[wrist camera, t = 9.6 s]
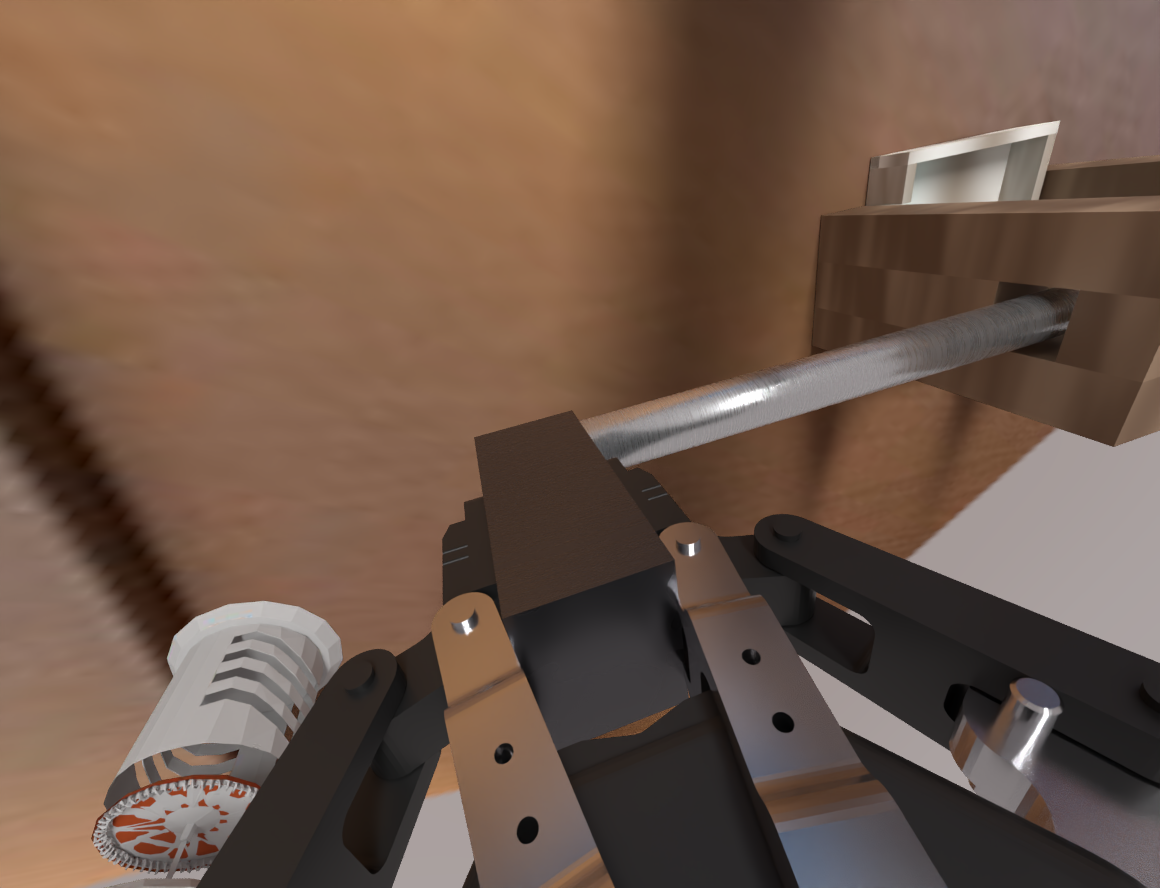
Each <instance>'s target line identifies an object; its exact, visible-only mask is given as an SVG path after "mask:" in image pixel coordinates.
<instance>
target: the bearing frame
mask: <svg viewBox="0 0 1160 888" xmlns="http://www.w3.org/2000/svg"><path fill="white" fill-rule="evenodd" d="M1059 123H1060V121H1054V122H1048V123H1042V124H1036V125H1029V126H1023V127H1017V128H1011V129H1006V130H1002V131H997V132H992V133H987V134H982V135H978V136H973V137H968V138H963V139H958V140H954V141H949V142H944V143H939V144H934V145H930V146H925V147H920V148H915V149H910V150H906V151H901V152H896V153H891V154H886V155H882V156H877V157H872V158H871V164H870V173H869V182H868V191H867V199H866V206H862V207H858V208H853V209H849V210H844V211H840V212H836V213H831V214H827V215H822V216H821V228H820V242H819V256H818V269H817V283H816V297H815V310H814V324H813V337H812V346H815V347H818V348H821V349H824V350H827V351H830V350H833V349H837V348H840V347H844V346H847V345H851V344H855V343H858V342H862V341H865V340H869V339H872V338H876V337H879V336H883V335H887V334H890V333H894V332H897V331H901V330H904V329H908V328H912V327H915V326H919V325H922V324H926V323H929V322H933V321H936V320H940V319H944V318H947V317H951V316H954V315H958V314H961V313H965V312H968V311H972V310H976V309H979V308H983V307H986V306H990V305H993V304H997V303H1000V302H1004V301H1008V300H1011V299H1015V298H1018V297H1022V296H1025V295H1029V294H1032V293H1036V292H1040V291H1043V290H1047V289H1050V288H1054V287H1056V288H1065V289H1074V290H1080V291H1079V294H1078V297H1077V300H1076V303H1075V306H1074V309H1073V312H1072V315H1071V317H1070V320H1069V323H1068V326H1067V329H1066V332H1065V335H1062V336H1058V337H1055V338H1052V339H1049V340H1045V341H1042V342H1039V343H1035V344H1032V345H1029V346H1025V347H1022V348H1019V349H1016V350H1012V351H1009V352H1006V353H1002V354H999V355H996V356H992V357H989V358H986V359H983V360H979V361H976V362H973V363H969V364H966V365H963V366H959V367H956V368H953V369H950V370H946V371H943V372H940V373H936V374H933V375H930V376H926V377H923V378H920V379H917V380H916V381H919V382H922V383H925V384H928V385H931V386H934V387H937V388H940V389H943V390H946V391H949V392H952V393H955V394H958V395H961V396H964V397H967V398H970V399H973V400H975V401H978V402H981V403H984V404H987V405H990V406H993V407H996V408H999V409H1002V410H1005V411H1008V412H1011V413H1014V414H1017V415H1020V416H1023V417H1026V418H1029V419H1032V420H1035V421H1038V422H1041V423H1044V424H1047V425H1050V426H1053V427H1056V428H1059V429H1062V430H1065V431H1068V432H1071V433H1074V434H1077V435H1080V436H1083V437H1086V438H1089V439H1092V440H1094V441H1098V442H1100V443H1104V444H1106V445H1109V446H1112V447H1115V446H1118V445H1120V444H1123V443H1126V442H1129V441H1132V440H1134V439H1137V438H1140V437H1143V436H1145V435H1148V434H1151V433H1154V432H1157V431H1159V430H1160V155H1154V156H1143V157H1132V158H1121V159H1110V160H1099V161H1088V162H1077V163H1066V164H1056V165H1048V163H1049V160H1050V156H1051V152H1052V149H1053V145H1054V142H1055V138H1056V134H1057V131H1058V127H1059Z"/></svg>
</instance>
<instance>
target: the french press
mask: <svg viewBox="0 0 1160 888" xmlns="http://www.w3.org/2000/svg"><path fill="white" fill-rule="evenodd" d="M342 659H343V656H342V648H341V641H340V638H339V636H338V635H337V634H336V633H335V632H334V630H333V629H332V628H331V627H330V625H329V624H328V623H327V622H326V621H325V620H324V619H322V618H320V617H318V616H316V615H314V614H312V613H310V612H308V611H306V610H304V609H302V608H300V607H297V606H291V605H285V604H280V603H274V602H268V601H259V602H249V603H238V604H228V605H225V606H223V607H220V608H218V609H215V610H212V611H210V612H207V613H205V614H202V615H200V616H197V617H195V618H194V619H193V620H192V621H191V622H190V623H189V624H187V625H186V626H185V627H184V628H183V629H182V630H181V631H180V632H178V633H177V634H176V635H175V636H174V639H173V642H172V645H171V648H170V651H169V654H168V657H167V660H168V663H169V666H170V669H171V671H172V674H173V679H172V680H171V682H170V684H169V686H168V687H167V689H166V691H165V692H164V694H163V696H162V697H161V699H160V701H159V703H158V704H157V706H156V708H155V709H154V711H153V713H152V715H151V716H150V718H149V720H148V721H147V723H146V725H145V726H144V728H143V730H142V732H141V733H140V735H139V737H138V738H137V740H136V742H135V744H134V745H133V747H132V749H131V751H130V752H129V754H128V756H127V758H126V759H125V761H124V763H123V765H122V766H121V768H120V770H119V772H118V773H117V775H116V777H115V779H114V780H113V782H112V784H111V786H110V787H109V790H108V792H107V795H106V798H105V801H104V805H105V807H106V809H107V811H106V812H105V813H103V814H102V815H101V816H100V817H99V818H98V819H97V821H96V824H95V828H94V831H93V834H92V838H91V839H92V841H93V843H94V846H96V848H97V849H98V851H99V853H100V854H101V856H103V858H107V859H109V860H108V862H109V861H113V864H114V865H115V864H119V865H120V866H121V867H122V866H123V867H125V870H126V869H127V868H133V871H134V870H135V869H140V872H142V871H143V870H146V871H148V873H150V872H151V871H152V872H155V875H156V874H157V873H158V872H164V873H165V872H168V871H169V872H168V875H167V877H166V879H142V880H137V881H133V882H128V883H124V884H119V885H115V886H110V887H106V888H196V887H197V885H198V884H199V882H200V881H201V880H196V879H172V877H173V874H174V873H175V872H176V871H180V872H181V873H182V872H184V871H187V872H189V873H190V872H191V871H192V870H194V869H196V871H199V870H200V868H208V867H209V866H210V865H211V863H212V862H213V860H214V859H215V857H216V856H217V854H218V853H219V851H220V849H221V848H222V846H223V845H224V843H225V842H226V840H227V839H228V837H229V835H230V834H231V832H232V831H233V829H234V828H235V826H236V825H237V823H238V822H239V820H240V818H241V817H242V815H243V814H244V812H245V811H246V809H247V808H248V806H249V804H250V803H251V801H252V800H253V798H254V797H255V795H256V794H257V792H258V790H259V789H260V787H261V786H262V784H263V783H264V781H265V780H266V778H267V776H268V775H269V773H270V772H271V770H272V769H273V767H274V766H275V763H276V760H277V758H278V759H279V758H280V756H281V755H282V753H283V752H284V750H285V749H286V747H287V745H288V744H289V742H288V740H287V739H286V738H285V736H284V734H285V730H286V727H287V724H288V726H289V727H290V728H291V730H292V731H293V736H294V735H295V733H296V731H297V730H298V728H299V727H300V725H301V724H302V722H303V721H304V719H305V717H306V716H307V714H308V713H309V711H310V710H311V708H312V707H313V705H314V704H315V700H316V696H317V692H318V691H319V690H320V689H321V688H322V687H323V686H325V685H326V684H327V683H328V682H329V680H330V679H331V677H332V676H333V675H334V673H335V672H336V671H337V670H338V668H339V666H340V663H341V661H342ZM294 703H295V705H296V706H297V707H298V709H299V710H300V711H299V715H298V718H297V719H296V718H295V717H294V715H293V714H292V712H291V711H292V708H293V704H294ZM293 736H292V738H293ZM202 743H221V744H202ZM179 747H181V748H183V749H185V750H187V751H188V752H190V753H192V754H193V755H195V756H204V755H221V754H225V753H228V752H232V751H235V750H238V749H240V750H239V753H238V755H237V758H234V759H232V760H229V761H226V762H223V763H220V764H217V765H200V766H190V765H189V764H187V763H185V762H183V761H181V760H180V759H178V758H176V757H174V756H173V754H172V752H171V749H175V748H179ZM156 753H161V756H162V758H163V761H164V763H165V766H166V768H167V769H169V770H171V771H172V772H174V773H176V774H178V775H179V776H181V777H177V778H172V779H166V780H161V778H160V776H159V773H158V771H157V769H156V767H155V765H154V761H153V758H152V755H154V754H156ZM140 760H142V764H143V767H144V770H145V772H146V775H147V777H148V779H149V782H150V785H147V786H145V787H142V788H140V786H139V783H138V781H137V778H136V772H135V766H134V763H136V762H138V761H140ZM229 771H231V774H230V775H219V774H222V773H225V772H229Z"/></svg>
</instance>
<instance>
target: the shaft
mask: <svg viewBox="0 0 1160 888" xmlns="http://www.w3.org/2000/svg"><path fill="white" fill-rule="evenodd" d="M1079 291H1080V290H1074V289H1065V288H1056V287H1054V288H1050V289H1047V290H1043V291H1040V292H1036V293H1032V294H1029V295H1025V296H1022V297H1018V298H1015V299H1011V300H1008V301H1004V302H1000V303H997V304H993V305H990V306H986V307H983V308H979V309H976V310H972V311H968V312H965V313H961V314H958V315H954V316H951V317H947V318H944V319H940V320H936V321H933V322H929V323H926V324H922V325H919V326H915V327H912V328H908V329H904V330H901V331H897V332H894V333H890V334H887V335H883V336H879V337H876V338H872V339H869V340H865V341H862V342H858V343H855V344H851V345H847V346H844V347H840V348H837V349H833V350H830V351H826V352H823V353H819V354H815V355H812V356H808V357H805V358H801V359H798V360H794V361H791V362H787V363H783V364H780V365H776V366H773V367H769V368H766V369H762V370H759V371H755V372H751V373H748V374H744V375H741V376H737V377H734V378H730V379H726V380H723V381H719V382H716V383H712V384H709V385H705V386H702V387H698V388H694V389H691V390H687V391H684V392H680V393H677V394H673V395H670V396H666V397H662V398H659V399H655V400H652V401H648V402H645V403H641V404H638V405H634V406H630V407H627V408H623V409H620V410H616V411H613V412H609V413H606V414H602V415H598V416H595V417H591V418H588V419H584V420H581V421H579V420H578V419H577V417H576V416H575V414H574V413H573V411H568V412H565V413H561V414H557V415H554V416H550V417H546V418H543V419H539V420H536V421H532V422H528V423H525V424H521V425H518V426H514V427H510V428H507V429H503V430H499V431H496V432H492V433H489V434H485V435H481V436H478V437H474V439H475V446H476V452H477V459H478V465H479V472H480V479H481V485H482V492H483V498H484V505H485V511H486V518H487V524H488V531H489V537H490V544H491V551H492V557H493V564H494V570H495V577H496V583H497V590H498V596H499V603H500V609H501V616H502V621H503V623H504V626H505V629H506V631H507V634H508V637H509V639H510V642H511V645H512V647H513V650H514V652H515V654H516V657H517V659H518V661H519V664H520V666H521V668H522V669H523V671H524V674H525V676H526V678H527V681H528V683H529V685H530V688H531V690H532V693H533V695H534V697H535V700H536V702H537V705H538V707H539V709H540V712H541V714H542V717H543V719H544V721H545V724H546V726H547V729H548V731H549V733H550V736H551V738H552V741H553V743H554V745H555V748H556V750H560V749H562V748H565V747H567V746H570V745H572V744H575V743H577V742H580V741H584V740H590V739H592V738H595V737H597V736H600V735H602V734H605V733H607V732H610V731H612V730H615V729H617V728H620V727H623V726H625V725H628V724H630V723H633V722H635V721H638V720H640V719H643V718H645V717H648V716H650V715H653V714H655V713H658V712H660V711H663V710H665V709H668V708H670V707H673V706H675V705H678V704H680V703H681V702H682V701H684V700H686V699H688V689H687V685H686V682H685V679H684V672H683V663H685V658H684V648H683V638H682V628H681V620H680V617H679V614H678V612H677V603H676V593H678V587H677V577H676V566H675V559H674V558H673V556H672V555H671V553H670V552H669V551H668V549H667V548H666V546H665V545H664V543H663V542H662V540H661V539H660V538H659V536H658V535H657V533H656V532H655V530H654V529H653V527H652V526H651V524H650V523H649V522H648V520H647V519H646V517H645V516H644V514H643V513H642V511H641V510H640V509H639V507H638V506H637V504H636V503H635V501H634V500H633V498H632V497H631V495H630V494H629V493H628V491H627V490H626V488H625V487H624V485H623V484H622V482H621V481H620V480H619V478H618V477H617V475H616V474H615V472H614V471H613V469H612V468H611V466H610V465H609V464H608V462H607V461H606V460H608V459H611V458H614V457H617V458H618V459H619V461H620V462H621V463H622V465H623V466H624V467H625V468H626V467H629V466H633V465H636V464H639V463H642V462H646V461H649V460H652V459H656V458H659V457H662V456H666V455H669V454H672V453H676V452H679V451H682V450H685V449H689V448H692V447H695V446H699V445H702V444H705V443H709V442H712V441H715V440H718V439H722V438H725V437H728V436H732V435H735V434H738V433H742V432H745V431H748V430H751V429H755V428H758V427H761V426H765V425H768V424H771V423H775V422H778V421H781V420H784V419H788V418H791V417H794V416H798V415H801V414H804V413H808V412H811V411H814V410H817V409H821V408H824V407H827V406H831V405H834V404H837V403H841V402H844V401H847V400H850V399H854V398H857V397H860V396H864V395H867V394H870V393H874V392H877V391H880V390H884V389H887V388H890V387H893V386H897V385H900V384H903V383H907V382H910V381H913V380H917V379H920V378H923V377H926V376H930V375H933V374H936V373H940V372H943V371H946V370H950V369H953V368H956V367H959V366H963V365H966V364H969V363H973V362H976V361H979V360H983V359H986V358H989V357H992V356H996V355H999V354H1002V353H1006V352H1009V351H1012V350H1016V349H1019V348H1022V347H1025V346H1029V345H1032V344H1035V343H1039V342H1042V341H1045V340H1049V339H1052V338H1055V337H1058V336H1062V335H1065V332H1066V329H1067V326H1068V323H1069V320H1070V317H1071V315H1072V312H1073V309H1074V306H1075V303H1076V300H1077V297H1078V294H1079Z"/></svg>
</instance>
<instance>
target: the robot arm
mask: <svg viewBox="0 0 1160 888" xmlns="http://www.w3.org/2000/svg"><path fill="white" fill-rule="evenodd" d="M606 461H607V462H608V464H609V465H610V466H611V468H612V469H613V471H614V472H615V474H616V475H617V477H618V478H619V480H620V481H621V482H622V484H623V485H624V487H625V488H626V490H627V491H628V493H629V494H630V495H631V497H632V498H633V500H634V501H635V503H636V504H637V506H638V507H639V509H640V510H641V511H642V513H643V514H644V516H645V517H646V519H647V520H648V522H649V523H650V524H651V526H652V527H653V529H654V530H655V532H656V533H657V535H658V536H659V538H660V539H661V540H662V542H663V543H664V545H665V546H666V548H667V549H668V551H669V552H670V553H671V555H672V556H673V558H674V559H675V566H676V577H677V587H678V593H676V603H677V612H678V614H679V617H680V620H681V628H682V638H683V648H684V658H685V663H683V672H684V679H685V682H686V685H687V688H688V691H689V695H690V698H688V699H686V700H684V701H682V702H681V703H680V704H679V705H677V706H676V707H675V708H673V709H672V710H671V711H669V712H668V713H667V714H666V715H664V716H663V717H662V718H660V719H659V720H658V721H656V722H655V723H654V724H653V725H651V726H650V727H649V728H647V729H646V730H645V731H643V732H642V733H639V734H636V735H629V736H620V737H611V738H602V739H593V740H584V741H580V742H577V743H575V744H572V745H570V746H567V747H565V748H562V749H560V750H556V748H555V745H554V743H553V741H552V738H551V736H550V733H549V731H548V729H547V726H546V724H545V721H544V719H543V717H542V714H541V712H540V709H539V707H538V705H537V702H536V700H535V697H534V695H533V693H532V690H531V688H530V685H529V683H528V681H527V678H526V676H525V674H524V671H523V669H522V668H521V666H520V664H519V661H518V659H517V657H516V654H515V652H514V650H513V647H512V645H511V642H510V639H509V637H508V634H507V631H506V629H505V626H504V623H503V621H502V616H501V609H500V603H499V596H498V590H497V583H496V577H495V570H494V564H493V557H492V551H491V544H490V537H489V531H488V524H487V518H486V511H485V505H484V498H483V497H480V498H476V499H473V500H470V501H466V502H464V509H465V521H461V522H458V523H455V524H452V525H450V526H449V528H448V530H447V531H446V533H445V535H444V537H443V539H442V551H443V606H442V608H441V609H440V610H439V611H438V612H437V614H436V615H435V617H434V619H433V622H432V627H431V632H430V633H429V634H428V635H427V636H426V637H425V638H424V639H423V640H421V641H420V642H418V643H417V644H416V645H414V646H412V647H411V648H409V649H408V650H406V651H404V652H403V653H401V654H399V655H398V656H396V657H395V656H394V655H393V654H392V653H391V652H389V651H387V650H383V649H373V650H369V651H366V652H363V653H361V654H359V655H356V656H355V657H353V658H351V659H350V660H349V661H347V662H346V663H345V664H343V665H342V666H341V667H340V668H339V669H338V670H337V671H336V672H335V673H334V675H333V676H332V677H331V679H330V680H329V682H328V683H327V685H326V686H325V688H324V690H323V691H322V693H321V694H320V696H319V697H318V699H317V700H316V702H315V704H314V705H313V707H312V708H311V710H310V711H309V713H308V714H307V716H306V717H305V719H304V721H303V722H302V724H301V725H300V727H299V728H298V730H297V731H296V733H295V735H294V736H293V738H292V739H291V741H290V742H289V744H288V745H287V747H286V749H285V750H284V752H283V753H282V755H281V756H280V758H279V759H278V761H277V763H276V764H275V766H274V767H273V769H272V770H271V772H270V773H269V775H268V776H267V778H266V780H265V781H264V783H263V784H262V786H261V787H260V789H259V790H258V792H257V794H256V795H255V797H254V798H253V800H252V801H251V803H250V804H249V806H248V808H247V809H246V811H245V812H244V814H243V815H242V817H241V818H240V820H239V822H238V823H237V825H236V826H235V828H234V829H233V831H232V832H231V834H230V835H229V837H228V839H227V840H226V842H225V843H224V845H223V846H222V848H221V849H220V851H219V853H218V854H217V856H216V857H215V859H214V860H213V862H212V863H211V865H210V867H209V868H208V870H207V871H206V873H205V874H204V876H203V877H202V879H201V881H200V882H199V884H198V885H197V887H196V888H392V886H393V883H394V880H395V877H396V875H397V872H398V869H399V866H400V864H401V861H402V858H403V855H404V853H405V850H406V847H407V845H408V842H409V839H410V837H411V834H412V831H413V828H414V826H415V823H416V820H417V818H418V815H419V812H420V809H421V807H422V804H423V801H424V799H425V796H426V793H427V790H428V788H429V785H430V782H431V780H432V777H433V774H434V771H435V769H436V766H437V763H438V761H439V757H440V754H441V749H442V748H444V747H445V746H446V745H448V744H449V743H450V747H451V752H452V756H453V761H454V766H455V771H456V775H457V780H458V785H459V789H460V794H461V799H462V804H463V808H464V813H465V818H466V823H467V827H468V832H469V837H470V841H471V846H472V851H473V856H474V861H473V864H472V866H471V869H470V871H469V873H468V875H467V878H466V880H465V882H464V885H463V887H462V888H1160V663H1158V662H1156V661H1153V660H1151V659H1148V658H1146V657H1144V656H1141V655H1139V654H1136V653H1134V652H1131V651H1129V650H1126V649H1124V648H1121V647H1119V646H1116V645H1114V644H1112V643H1109V642H1106V641H1104V640H1102V639H1099V638H1097V637H1094V636H1092V635H1089V634H1087V633H1084V632H1082V631H1080V630H1077V629H1075V628H1072V627H1070V626H1067V625H1065V624H1062V623H1060V622H1057V621H1055V620H1052V619H1050V618H1048V617H1045V616H1043V615H1040V614H1037V613H1035V612H1033V611H1030V610H1028V609H1025V608H1023V607H1020V606H1018V605H1016V604H1013V603H1011V602H1008V601H1006V600H1003V599H1001V598H998V597H996V596H993V595H991V594H988V593H986V592H983V591H981V590H979V589H976V588H974V587H971V586H969V585H966V584H964V583H961V582H959V581H956V580H954V579H951V578H949V577H947V576H944V575H942V574H939V573H937V572H934V571H932V570H929V569H927V568H924V567H922V566H920V565H917V564H915V563H912V562H910V561H907V560H905V559H902V558H900V557H897V556H895V555H892V554H890V553H888V552H885V551H883V550H880V549H878V548H875V547H873V546H870V545H868V544H865V543H863V542H860V541H858V540H856V539H853V538H851V537H848V536H846V535H843V534H841V533H838V532H836V531H833V530H831V529H828V528H826V527H824V526H821V525H819V524H816V523H814V522H811V521H809V520H806V519H804V518H801V517H798V516H794V515H788V514H777V515H771V516H768V517H765V518H763V519H762V520H760V521H759V522H758V523H757V524H756V526H755V529H754V535H746V536H734V537H722V536H717V535H716V534H715V532H714V531H713V530H712V529H710V528H709V527H707V526H705V525H702V524H698V523H692V522H691V521H690V520H689V518H688V517H687V516H686V515H685V514H684V512H683V511H682V510H681V509H680V508H679V506H678V505H677V504H676V503H675V502H674V500H673V499H672V498H671V497H670V496H669V494H668V495H667V492H666V491H665V490H664V488H663V487H662V486H660V484H659V482H658V481H657V480H656V479H655V478H654V476H653V475H652V474H650V473H648V472H646V471H644V470H642V469H640V468H636V469H633V470H630V471H627V470H626V469H625V467H624V466H623V465H622V463H621V462H620V461H619V459H618V458H617V457H614V458H611V459H608V460H606ZM816 592H817V593H819V594H821V595H823V596H825V597H827V598H829V599H831V600H833V601H835V602H837V603H839V604H841V605H843V606H844V607H846V608H848V609H850V610H852V611H854V612H856V613H858V614H860V615H861V616H863V617H864V618H865V619H866V620H867V621H868V622H869V623H870V624H871V625H872V626H871V625H869V624H867V623H865V622H863V621H861V620H859V619H857V618H856V617H854V616H852V615H850V614H848V613H846V612H844V611H842V610H840V609H838V608H836V607H835V606H833V605H831V604H829V603H827V602H825V601H823V600H821V599H819V598H817V597H816ZM798 655H800V656H801V657H803V658H805V659H806V660H808V661H809V662H811V663H812V664H814V665H816V666H817V667H819V668H820V669H822V670H823V671H825V672H827V673H828V674H830V675H831V676H833V677H835V678H836V679H838V680H839V681H841V682H842V683H844V684H846V685H847V686H849V687H850V688H852V689H853V690H855V691H856V692H858V693H860V694H861V695H863V696H864V697H866V698H868V699H869V700H871V701H872V702H874V703H875V704H877V705H879V706H880V707H882V708H883V709H885V710H887V711H888V712H890V713H891V714H893V715H894V716H896V717H897V718H899V719H901V720H902V721H904V722H905V723H907V724H909V725H910V726H912V727H913V728H915V729H916V730H918V731H919V732H921V733H923V734H924V735H926V736H927V737H929V738H931V739H932V740H934V741H935V742H937V743H939V744H940V745H942V746H943V747H945V748H946V749H948V750H950V751H951V753H952V756H953V758H954V760H955V761H956V763H957V765H958V767H959V768H960V769H961V771H962V772H963V773H964V774H965V776H966V777H967V778H968V780H969V783H970V786H971V787H972V789H973V790H974V791H975V793H976V794H975V793H973V792H971V791H969V790H967V789H965V788H963V787H961V786H959V785H957V784H955V783H952V782H951V781H949V780H947V779H945V778H943V777H941V776H938V775H937V774H935V773H933V772H931V771H928V770H927V769H925V768H923V767H921V766H919V765H917V764H915V763H913V762H911V761H909V760H906V759H905V758H903V757H901V756H899V755H897V754H895V753H893V752H891V751H889V750H887V749H885V748H883V747H881V746H879V745H877V744H875V743H873V742H871V741H869V740H867V739H865V738H863V737H861V736H859V735H857V734H855V733H852V732H851V731H849V730H847V729H845V728H843V727H841V726H839V724H838V722H837V721H836V719H835V717H834V715H833V714H832V712H831V710H830V709H829V707H828V705H827V704H826V702H825V700H824V698H823V697H822V695H821V693H820V692H819V690H818V688H817V687H816V685H815V683H814V681H813V680H812V678H811V676H810V675H809V673H808V671H807V669H806V668H805V666H804V665H803V663H802V661H801V659H800V658H799V656H798Z"/></svg>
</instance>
